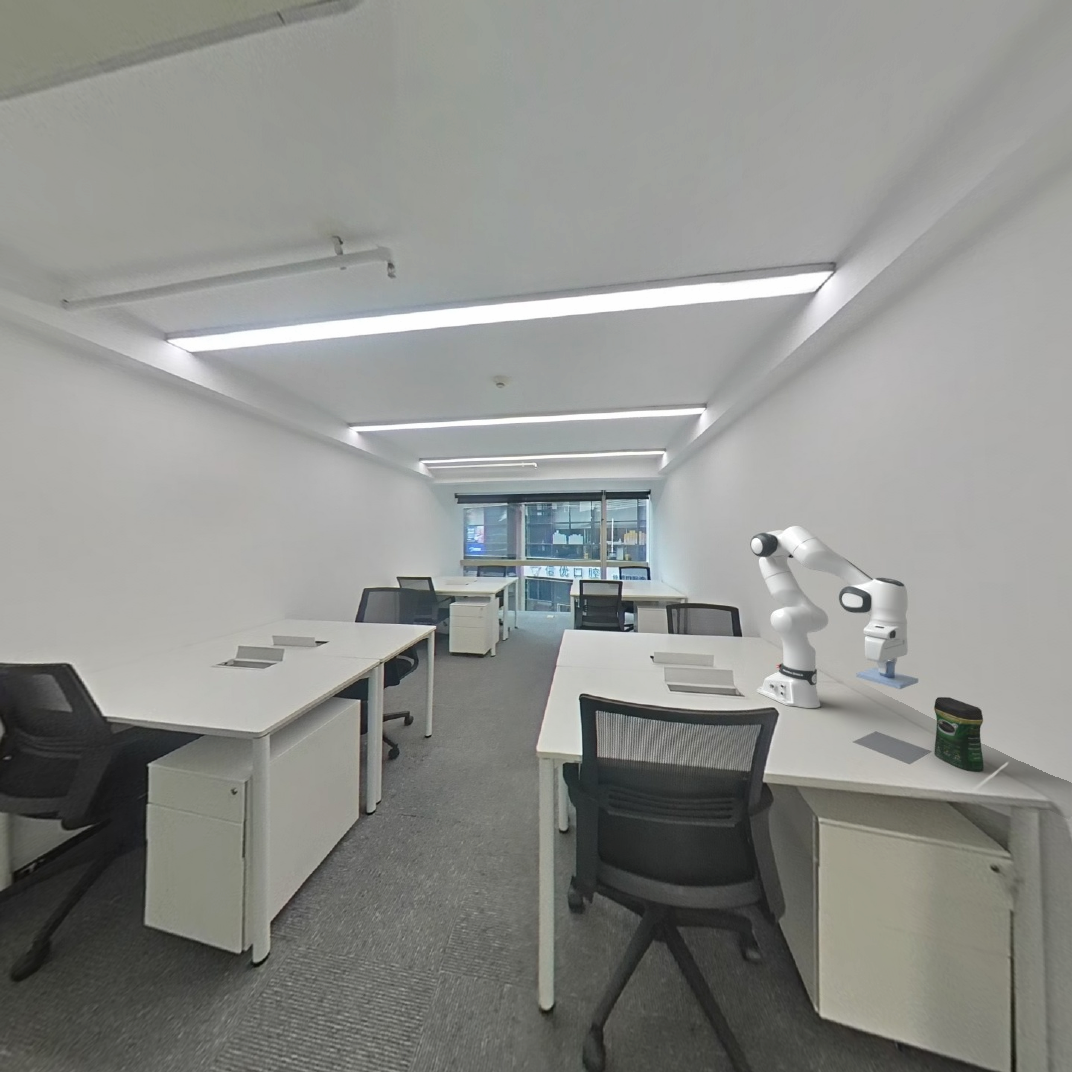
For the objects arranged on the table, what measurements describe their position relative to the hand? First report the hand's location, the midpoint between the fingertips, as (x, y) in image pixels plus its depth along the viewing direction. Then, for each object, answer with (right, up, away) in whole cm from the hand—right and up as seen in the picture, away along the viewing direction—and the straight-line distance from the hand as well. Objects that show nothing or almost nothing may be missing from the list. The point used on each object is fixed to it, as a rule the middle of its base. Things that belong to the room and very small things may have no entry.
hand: (886, 671), depth 124 cm
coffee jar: (+12, -24, -10) cm, 29 cm away
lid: (0, -3, 0) cm, 3 cm away
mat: (0, -24, -1) cm, 24 cm away
